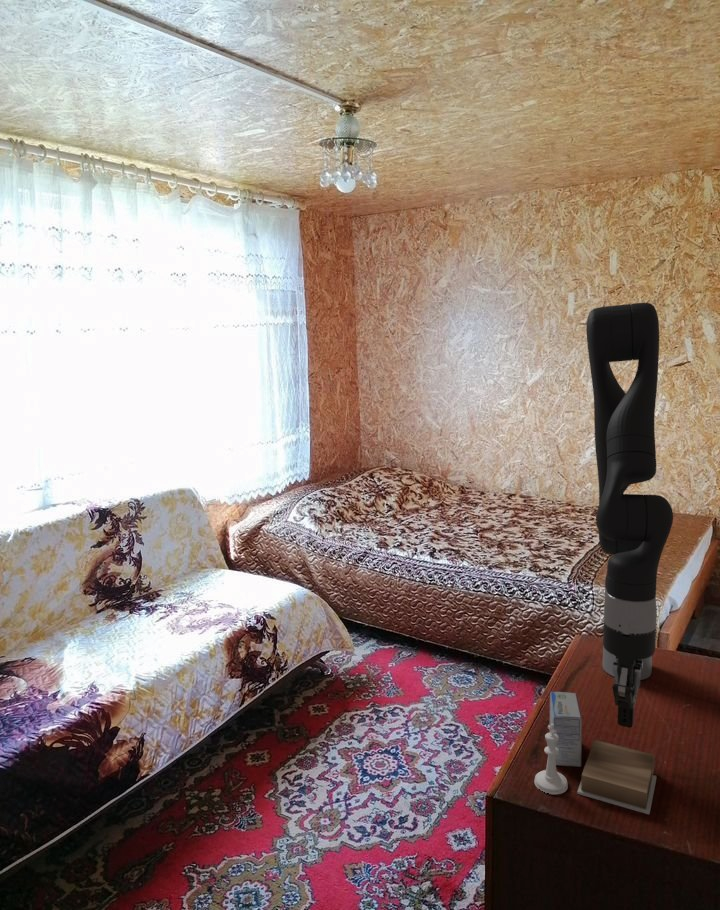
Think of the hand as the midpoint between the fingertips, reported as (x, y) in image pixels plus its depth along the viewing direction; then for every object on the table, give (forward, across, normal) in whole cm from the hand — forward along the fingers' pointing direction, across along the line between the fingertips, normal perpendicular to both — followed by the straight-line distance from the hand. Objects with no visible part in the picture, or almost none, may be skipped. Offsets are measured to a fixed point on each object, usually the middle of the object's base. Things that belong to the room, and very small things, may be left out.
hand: (625, 724), depth 107 cm
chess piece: (+7, +10, -9) cm, 15 cm away
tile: (+5, +1, 0) cm, 5 cm away
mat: (+7, +6, 0) cm, 9 cm away
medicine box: (+7, +2, -9) cm, 11 cm away
